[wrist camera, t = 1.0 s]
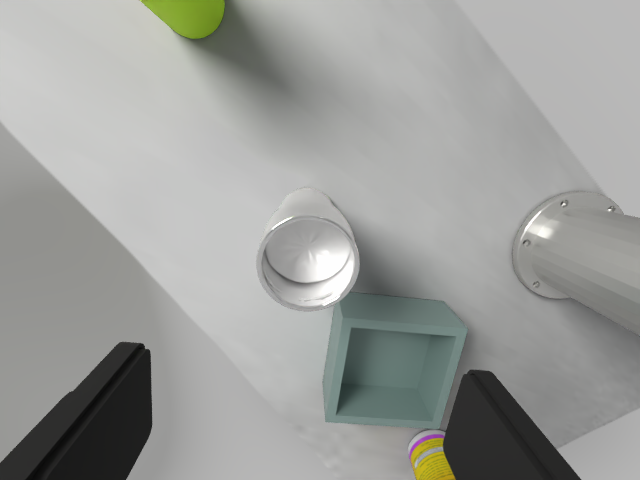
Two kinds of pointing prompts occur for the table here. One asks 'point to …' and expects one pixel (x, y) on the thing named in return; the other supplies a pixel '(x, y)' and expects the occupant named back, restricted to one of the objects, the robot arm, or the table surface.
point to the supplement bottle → (429, 456)
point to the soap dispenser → (189, 15)
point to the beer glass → (307, 253)
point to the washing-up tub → (391, 361)
